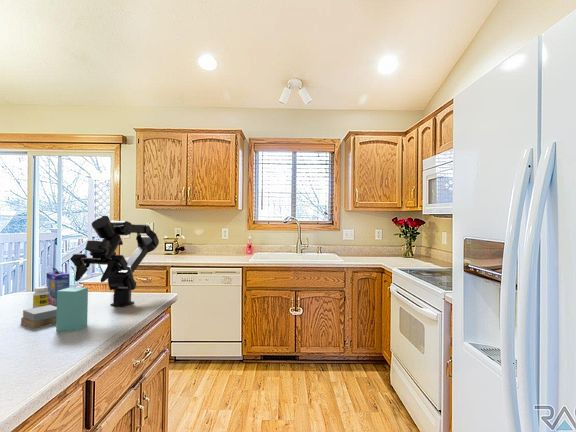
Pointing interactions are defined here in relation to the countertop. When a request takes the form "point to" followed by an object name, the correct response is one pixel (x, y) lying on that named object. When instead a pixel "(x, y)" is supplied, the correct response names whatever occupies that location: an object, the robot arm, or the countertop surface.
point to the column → (72, 309)
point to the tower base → (38, 322)
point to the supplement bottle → (40, 297)
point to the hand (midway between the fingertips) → (88, 281)
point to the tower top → (40, 313)
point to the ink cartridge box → (56, 284)
